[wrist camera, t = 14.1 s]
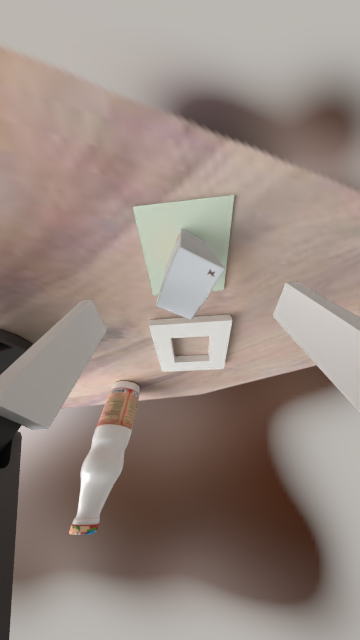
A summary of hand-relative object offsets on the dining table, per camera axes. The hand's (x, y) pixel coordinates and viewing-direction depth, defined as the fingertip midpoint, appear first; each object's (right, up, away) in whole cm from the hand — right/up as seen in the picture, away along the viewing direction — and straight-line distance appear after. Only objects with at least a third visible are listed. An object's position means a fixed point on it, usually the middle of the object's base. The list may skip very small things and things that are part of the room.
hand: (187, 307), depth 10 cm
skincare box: (0, +9, +12) cm, 15 cm away
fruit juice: (-19, -24, +39) cm, 49 cm away
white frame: (+2, -7, +25) cm, 26 cm away
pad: (0, +10, +12) cm, 15 cm away
